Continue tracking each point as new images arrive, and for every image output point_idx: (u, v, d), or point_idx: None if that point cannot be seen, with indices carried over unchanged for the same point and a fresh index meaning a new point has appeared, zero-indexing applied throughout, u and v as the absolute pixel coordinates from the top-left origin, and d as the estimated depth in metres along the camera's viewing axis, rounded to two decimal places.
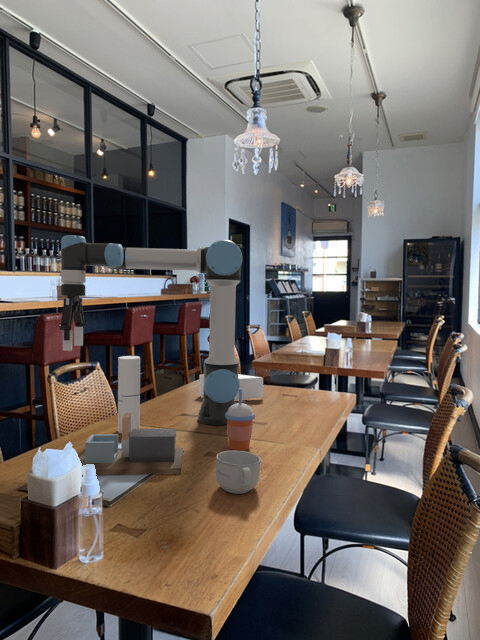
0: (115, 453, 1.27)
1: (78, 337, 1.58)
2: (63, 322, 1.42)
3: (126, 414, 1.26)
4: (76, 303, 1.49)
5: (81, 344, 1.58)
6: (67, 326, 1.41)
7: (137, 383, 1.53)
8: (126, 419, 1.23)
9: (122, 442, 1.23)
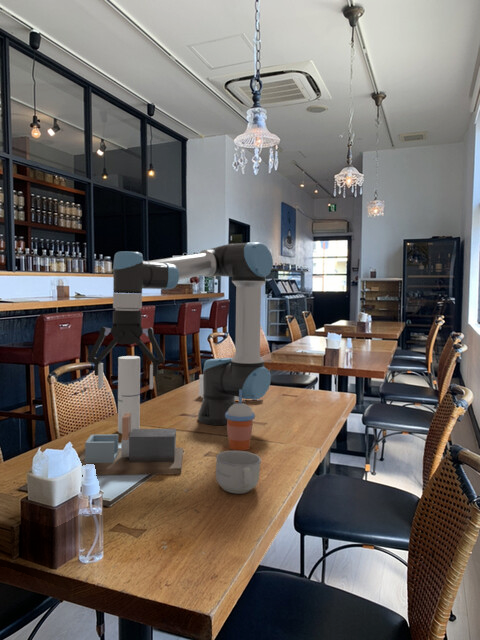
0: (115, 453, 1.27)
1: None
2: None
3: (126, 414, 1.26)
4: (118, 333, 1.22)
5: None
6: None
7: (137, 383, 1.53)
8: (126, 419, 1.23)
9: (122, 442, 1.23)
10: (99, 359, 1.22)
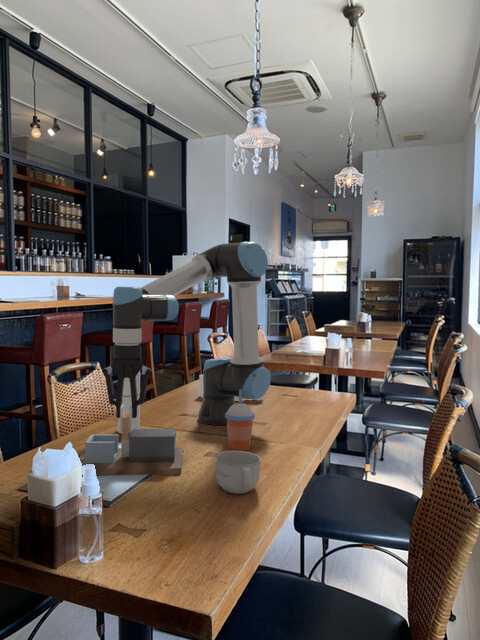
0: (115, 453, 1.27)
1: None
2: None
3: (126, 414, 1.26)
4: (118, 370, 1.23)
5: (129, 429, 1.24)
6: None
7: (137, 383, 1.53)
8: (126, 419, 1.23)
9: (122, 442, 1.23)
10: (119, 401, 1.24)
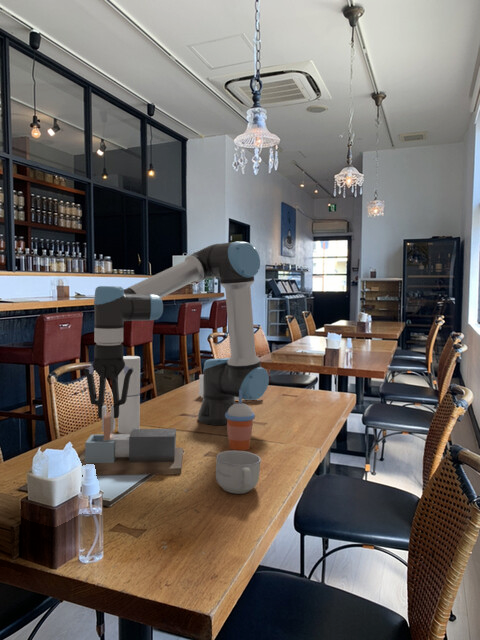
0: None
1: None
2: None
3: (108, 414, 1.25)
4: (100, 369, 1.22)
5: (111, 429, 1.24)
6: None
7: (137, 383, 1.53)
8: (108, 419, 1.22)
9: None
10: (101, 401, 1.23)
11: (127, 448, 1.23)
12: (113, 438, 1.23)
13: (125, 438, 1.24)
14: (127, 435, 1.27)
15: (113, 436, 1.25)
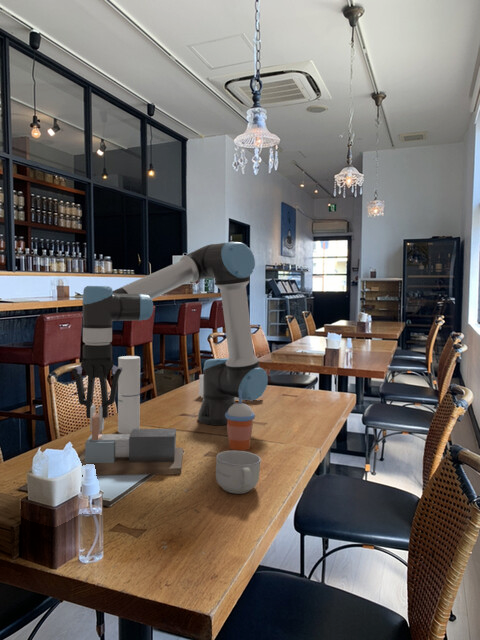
0: None
1: None
2: None
3: (97, 414, 1.25)
4: None
5: None
6: None
7: (137, 383, 1.53)
8: (96, 419, 1.22)
9: None
10: (89, 401, 1.23)
11: (115, 448, 1.23)
12: (101, 438, 1.23)
13: (113, 439, 1.23)
14: (116, 435, 1.26)
15: (102, 436, 1.25)
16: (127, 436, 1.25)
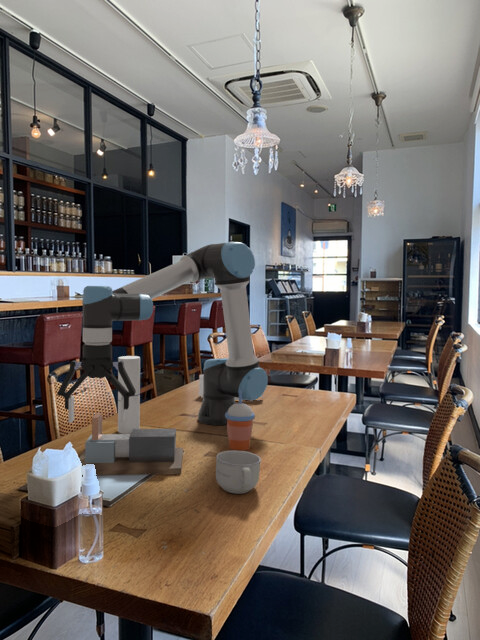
0: None
1: None
2: None
3: (97, 414, 1.25)
4: (88, 368, 1.22)
5: None
6: None
7: (137, 383, 1.53)
8: (96, 419, 1.22)
9: None
10: (69, 393, 1.22)
11: (115, 448, 1.23)
12: (101, 438, 1.23)
13: (113, 439, 1.23)
14: (116, 435, 1.26)
15: (102, 436, 1.25)
16: (127, 436, 1.25)
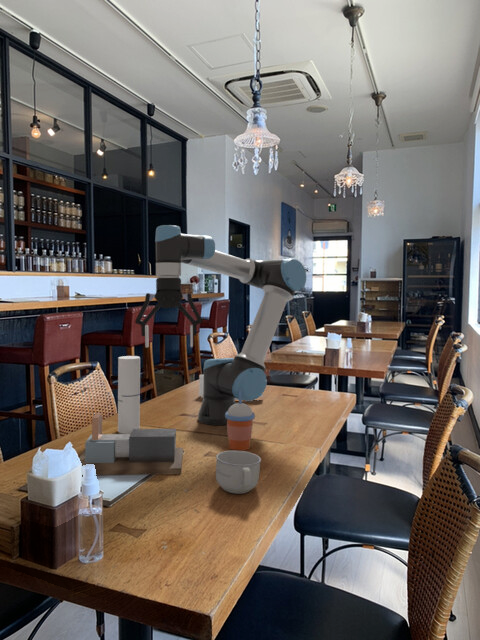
0: None
1: None
2: None
3: (97, 414, 1.25)
4: (161, 298, 1.38)
5: None
6: None
7: (137, 383, 1.53)
8: (96, 419, 1.22)
9: None
10: (145, 321, 1.39)
11: (115, 448, 1.23)
12: (101, 438, 1.23)
13: (113, 439, 1.23)
14: (116, 435, 1.26)
15: (102, 436, 1.25)
16: (127, 436, 1.25)
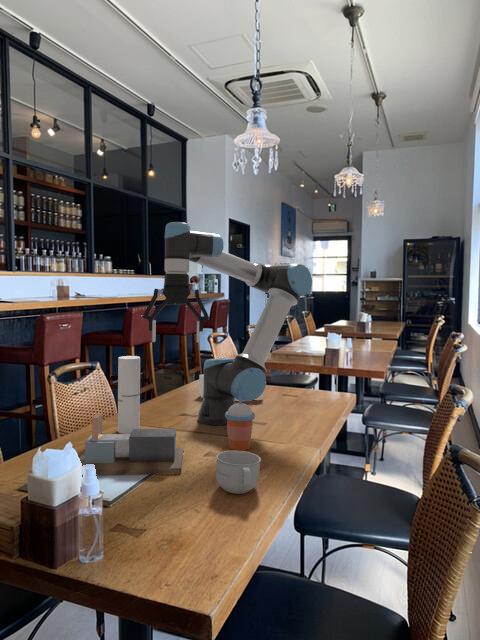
0: None
1: None
2: None
3: (97, 414, 1.25)
4: (169, 294, 1.41)
5: None
6: None
7: (137, 383, 1.53)
8: (96, 419, 1.22)
9: None
10: (153, 316, 1.41)
11: (115, 448, 1.23)
12: (101, 438, 1.23)
13: (113, 439, 1.23)
14: (116, 435, 1.26)
15: (102, 436, 1.25)
16: (127, 436, 1.25)
